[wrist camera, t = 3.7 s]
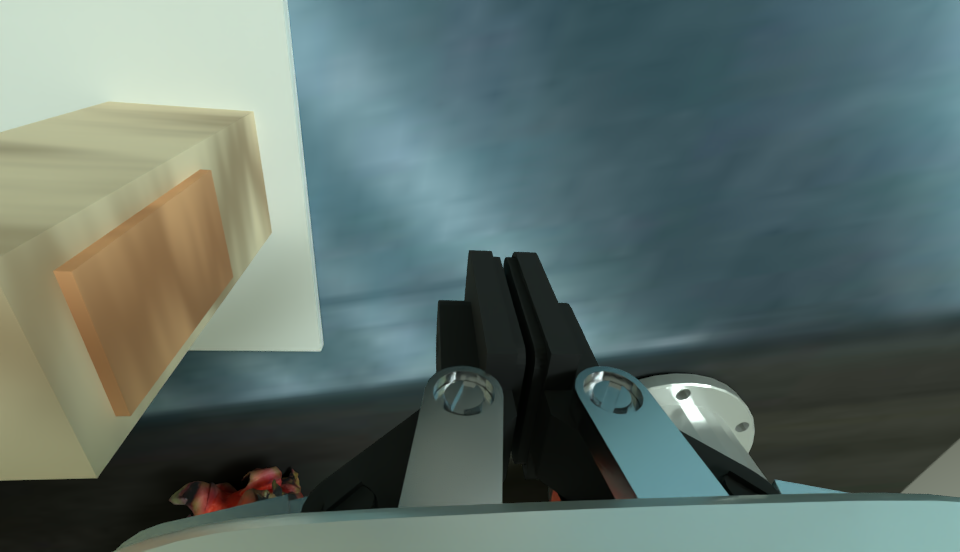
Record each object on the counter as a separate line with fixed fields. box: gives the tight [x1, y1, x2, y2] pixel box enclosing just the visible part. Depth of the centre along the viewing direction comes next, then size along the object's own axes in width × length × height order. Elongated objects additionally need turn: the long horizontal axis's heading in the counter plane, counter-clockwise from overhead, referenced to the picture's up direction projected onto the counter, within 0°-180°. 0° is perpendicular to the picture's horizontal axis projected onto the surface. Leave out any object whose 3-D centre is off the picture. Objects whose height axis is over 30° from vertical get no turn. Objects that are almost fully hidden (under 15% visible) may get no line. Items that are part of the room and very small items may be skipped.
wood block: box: [0, 101, 272, 481], centre depth 13 cm, size 5×5×12 cm
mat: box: [0, 0, 323, 351], centre depth 18 cm, size 18×20×1 cm
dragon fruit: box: [169, 465, 303, 518], centre depth 26 cm, size 8×8×12 cm
